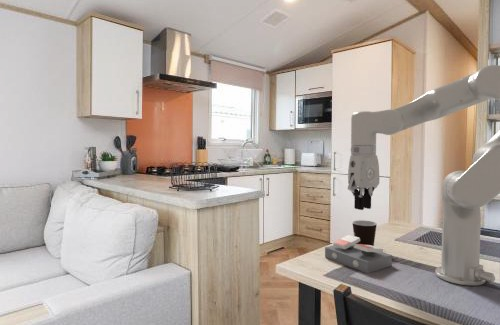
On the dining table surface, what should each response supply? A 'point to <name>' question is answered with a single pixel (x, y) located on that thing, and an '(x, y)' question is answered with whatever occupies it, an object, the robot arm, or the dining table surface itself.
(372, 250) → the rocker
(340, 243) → the rocker
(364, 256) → the rocker switch panel
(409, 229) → the dining table surface
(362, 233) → the coffee mug
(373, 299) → the dining table surface
